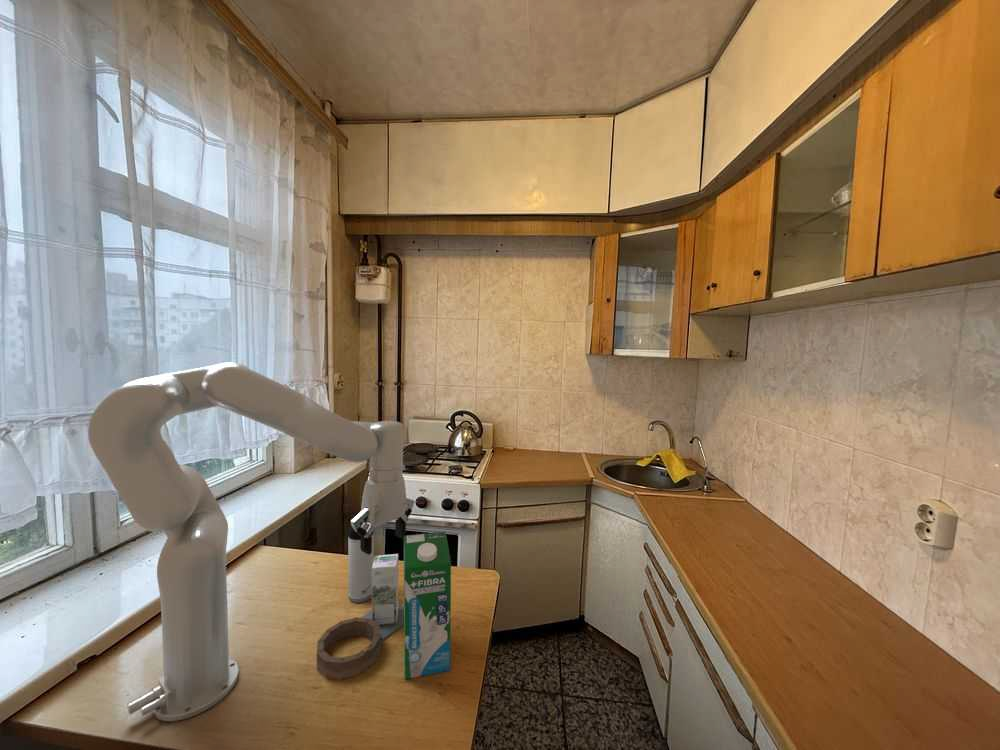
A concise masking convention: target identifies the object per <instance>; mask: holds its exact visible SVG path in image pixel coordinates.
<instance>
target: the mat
mask: <svg viewBox="0 0 1000 750" xmlns="http://www.w3.org/2000/svg"><path fill="white" fill-rule="evenodd" d="M398 606H399V608H398V616H397V623H396V624H389V625H380V626H379V628H380V634H381V642H383V641H384V640H386V639H387V638H388V637H390V636H391V635H393V634H394V633H396V632H397V631H398V630H400V629H401V628H402V627H404V605H402V604H400V602H398ZM360 618H369V619H371V620H372V610H370V611H369V612H367V613H365V614H364V615H362V616H360Z"/></svg>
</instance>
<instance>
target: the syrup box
mask: <svg viewBox="0 0 1000 750" xmlns="http://www.w3.org/2000/svg"><path fill="white" fill-rule="evenodd" d="M398 603H399V553H393V554H382V555H381V554H380V555H374V561H373V565H372V597H371V611H372V620H373V621H374V622H376V623H377V624H378V625H379V626H380V625H389V624H396V623H397V616H398V608H399V606H398Z"/></svg>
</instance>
